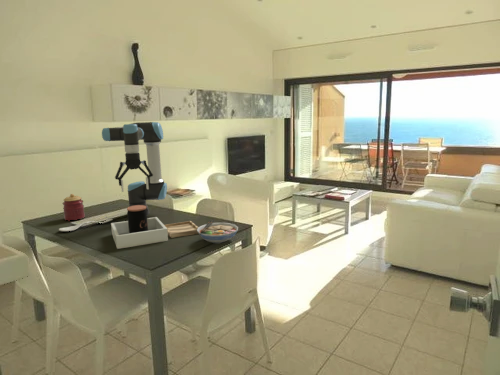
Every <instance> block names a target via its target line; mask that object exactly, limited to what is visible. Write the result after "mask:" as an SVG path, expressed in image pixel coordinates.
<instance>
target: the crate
mask: <svg viewBox="0 0 500 375" xmlns="http://www.w3.org/2000/svg"><path fill="white" fill-rule="evenodd" d="M147 221H148V231H143V232H136V233H129V226H128V220H126V221H125V220H123V221H118V222H116V221H115V222H111V223H110V225H111V226H110V227H111V235H112V238H113V241H114V244H115V246H116V249H117V250H118V249H124V248H130V247H131V248H132V247H138V246H144V245H149V244H155V243H162V242H168V241H169V235H168V233H167V228H166V227H165V226H164V225H165V224H164V223H163V222H162V221H161V220H160V219H159V218H158V217H157V216H154V217H147Z"/></svg>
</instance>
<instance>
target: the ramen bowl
mask: <svg viewBox="0 0 500 375" xmlns="http://www.w3.org/2000/svg"><path fill="white" fill-rule="evenodd" d="M197 227H198V229H197V231H198V233H199V234H198V235H199V236H200V237H201V238H202V239H203V240H205V241H207V242H209V243H213V244H222V243H225V242H227V241H230V239H232V238H234V237H235V235H236V234H237V232H238V231H239V226H237V225H236V224H234V223H229V222H215V220H213V219H212V220H211V219H210V220H209V221H208V222H207V223H205V224H203V225H200V226H197Z"/></svg>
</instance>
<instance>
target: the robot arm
mask: <svg viewBox="0 0 500 375" xmlns="http://www.w3.org/2000/svg"><path fill="white" fill-rule="evenodd" d="M101 137H102V140H103V141H104V142H122V141H123V142H124V143H123V144H124V152H125V154H124V155H125V161H120V162H119V167H118V169H117V171H116V174H115V176H114V179H115V180H118V185H119V187H120V189H121V193H124V189H125V188H124V180H123V178H124V177H125V175H126V174H127V172H128V171H129V170H140V172H142V173H143V175H145V181H136V182H132V183H129V184H128V185H127V194H128V207H130V206H135V205H144V206H146V210H147V216H149V215H150V210H149V207H148V204H147V201H160V200H164V199H166V196H167V190H168V184H167V182H165V180H164V179H163V178H162V167H161V166H162V164H161V152H160V144H161V143H162V140H163V139H164V130H163V127H162V124H161V123H160V122H156V121H155V122H154V121H145V122H138V121H137V122H133V123H126V124H123V126H117V127H104V128H102V130H101ZM141 140H142V141H143V144H145V145H146V146H145V147H146V157H147V158H146V160H147V161H146V160H145V159H144V160H141V158H140V156H141V154H140V146H139V145H140V144H139V143H140V142H139V141H141ZM141 164H142V165H143V166H144V167H145V169H146V171H147V172H146V171H145V170H144V169H143V168H142V167H141ZM124 166H126V168H125V169H124V170H123V171H122V169H123V167H124ZM121 171H122V173H121ZM127 212H128V210H127V211H126V213H127Z"/></svg>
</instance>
